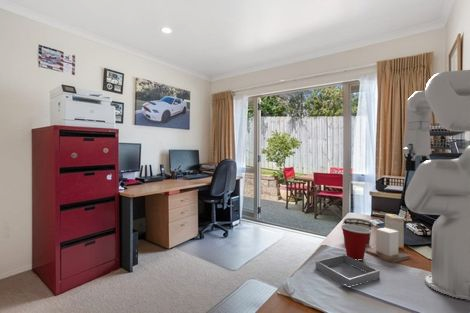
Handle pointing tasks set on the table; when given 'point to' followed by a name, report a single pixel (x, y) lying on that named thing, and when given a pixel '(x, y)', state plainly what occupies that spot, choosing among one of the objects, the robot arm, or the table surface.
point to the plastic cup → (355, 240)
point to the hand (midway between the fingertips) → (417, 170)
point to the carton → (387, 241)
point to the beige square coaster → (391, 259)
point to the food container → (359, 224)
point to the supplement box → (395, 226)
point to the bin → (323, 264)
